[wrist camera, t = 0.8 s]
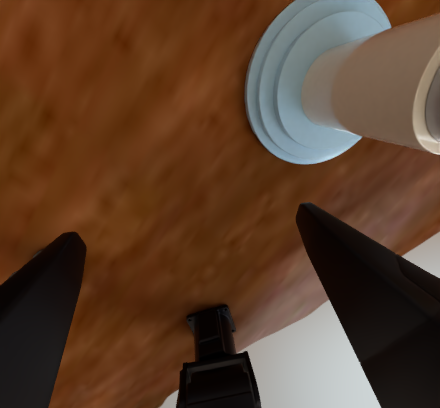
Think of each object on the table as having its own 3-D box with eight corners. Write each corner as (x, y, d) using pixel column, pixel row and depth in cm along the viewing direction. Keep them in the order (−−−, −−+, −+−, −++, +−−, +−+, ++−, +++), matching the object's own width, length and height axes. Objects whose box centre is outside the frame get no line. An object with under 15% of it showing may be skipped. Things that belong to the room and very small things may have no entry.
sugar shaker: (366, 116, 19) (558, 141, 9) (302, 135, 19) (426, 178, 9) (373, 35, 16) (659, -56, 6) (298, 56, 16) (470, -3, 6)
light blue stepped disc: (378, 142, 24) (401, 148, 21) (256, 176, 24) (265, 187, 21) (397, -31, 17) (436, -53, 14) (229, 16, 17) (237, 2, 14)
